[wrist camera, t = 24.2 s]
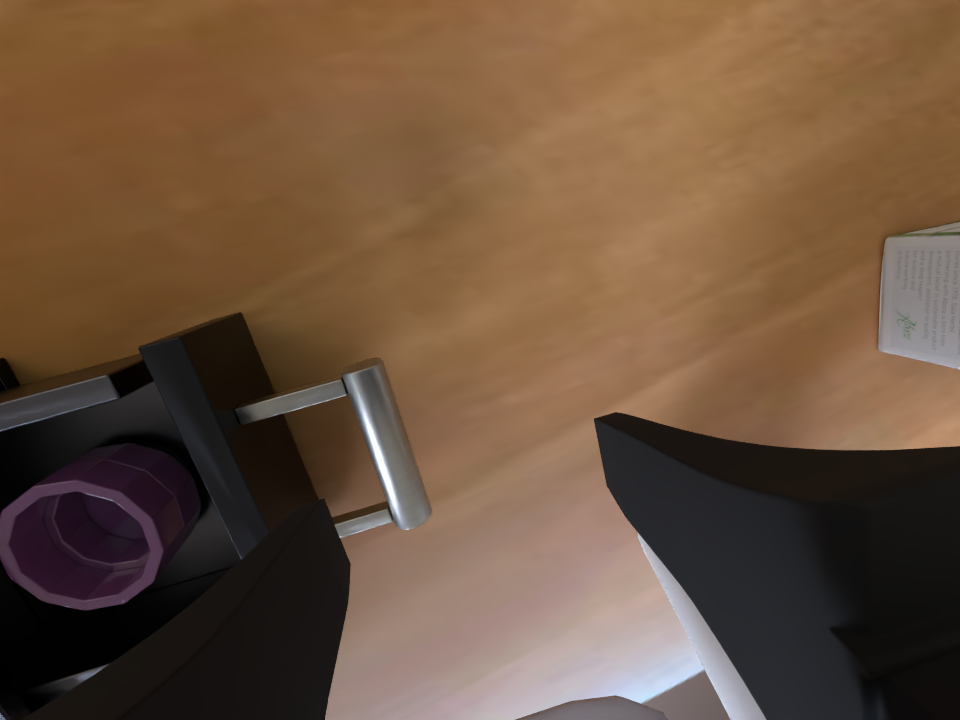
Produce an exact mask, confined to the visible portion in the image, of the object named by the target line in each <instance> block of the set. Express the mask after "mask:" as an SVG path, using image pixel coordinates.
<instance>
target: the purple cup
mask: <svg viewBox="0 0 960 720" xmlns="http://www.w3.org/2000/svg"><path fill="white" fill-rule="evenodd" d="M200 509H201V501H200V498H199V495H198V492H197V488H196V484H195V482H194V479H193V477H192V475H191V474H190V473H189V471H188V470H187V469H186V467H185V466H184V465H183V464H182V463H180V462H179V461H178V460H177V459H175V458H174V457H172V456H171V455H169V454H167V453H165V452H163V451H160V450H157V449H154V448H150V447H145V446H141V445H137V444H134V443H125V444H118V445H112V446H105V447H98V448H94V449H91V450H90V451H88V452H87V453H85V454H83V455H82V456H80V457H79V458H77V459H75V460H74V461H72V462H71V463H69V464H67V465H66V466H65V467H63V468H61V469H59V470H58V471H56V472H55V473H53V474H51V475H50V476H48V477H47V478H45V479H44V480H42V481H40V482H39V483H37V484H36V485H34V486H32V487H31V488H30V489H28V490H27V491H26V492H25V493H23V494H22V495H21V496H19V497H18V498H17V499H16V500H14V501H13V502H12V503H10V504H9V505H8V506H7V507H5V508H4V509H3V511H2V512H1V516H0V560H1V562H2V564H3V566H4V568H5V571H6V573H7V575H8V577H10V579H11V580H13V581H14V582H15V583H17V584H18V585H20V586H21V587H22V588H24V589H25V590H27V591H28V592H30V593H31V594H32V595H34V596H35V597H37V598H38V599H39V600H41V601H43V602H46V603H50V604H55V605H60V606H64V607H69V608H74V609H78V610H83V611H84V610H86V611H87V610H93V609H98V608H104V607H109V606H115V605H120V604H124V603H127V602H128V601H129V600H131V599H132V598H133V597H135V596H136V595H137V594H139V593H140V592H141V591H143V590H144V589H145V588H147V587H148V586H149V585H150V584H152V583H153V582H154V581H155V580H156V578H157V577H158V576H159V574H160V573H161V572H162V571H163V569H164V568H165V567H166V565H167V564H168V563H169V562H170V560H171V559H172V558H173V556H174V555H175V554H176V552H177V551H178V550H179V549H180V547H181V546H182V545H183V544H184V542H185V541H186V540H187V538H188V537H189V536H190V535H191V533H192V532H193V530H194V527H195V524H196V521H197V518H198V515H199V512H200Z"/></svg>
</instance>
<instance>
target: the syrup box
mask: <svg viewBox="0 0 960 720" xmlns="http://www.w3.org/2000/svg"><path fill="white" fill-rule="evenodd" d="M878 349H879V350H880V351H882V352H886V353H890V354H895V355H899V356H904V357H908V358H912V359H917V360H921V361H926V362H930V363H934V364H938V365H943V366H947V367H951V368H956V369H960V221H958V222H954V223H949V224H945V225H941V226H936V227H931V228H927V229H923V230H918V231H913V232H908V233H904V234H899V235H894V236H890V237H888V238H887V239H886V241H885V244H884V254H883V262H882V271H881V289H880V310H879V345H878Z"/></svg>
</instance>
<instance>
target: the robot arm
mask: <svg viewBox="0 0 960 720" xmlns="http://www.w3.org/2000/svg"><path fill="white" fill-rule="evenodd" d="M594 423H595V428H596V433H597V438H598V443H599V448H600V453H601V458H602V463H603V468H604V473H605V479H606V484H607V487H608V488H609V490H610V492H611V494H612V495H613V497H614V499H615V500H616V502H617V504H618V505H619V507H620V509H621V510H622V512H623V514H624V515H625V517H626V518H627V519H628V521H629V522H630V523H631V524H632V526H633V527H634V528H635V529H636V531H637V532H638V533H639V534H640V536H641V537H642V538H643V540H644V541H645V542H646V543H647V544H648V546H649V547H650V548H651V549H652V551H653V552H654V553H655V554H656V556H657V557H658V558H659V559H660V561H661V562H662V563H663V564H664V566H665V567H666V568H667V569H668V571H669V572H670V573H671V574H672V575H673V577H674V578H675V579H676V580H677V582H678V583H679V584H680V586H681V587H682V588H683V590H684V591H685V592H686V594H687V595H688V596H689V598H690V599H691V600H692V602H693V603H694V605H695V606H696V608H697V610H698V611H699V613H700V614H701V616H702V617H703V619H704V620H705V622H706V623H707V625H708V626H709V628H710V629H711V631H712V632H713V634H714V636H715V637H716V639H717V640H718V642H719V643H720V645H721V647H722V648H723V650H724V651H725V653H726V654H727V656H728V658H729V659H730V661H731V662H732V664H733V666H734V667H735V669H736V670H737V672H738V674H739V675H740V677H741V678H742V680H743V682H744V683H745V685H746V686H747V688H748V690H749V691H750V693H751V695H752V696H753V698H754V700H755V701H756V703H757V705H758V706H759V708H760V710H761V711H762V713H763V715H764V716H765V718H766V720H960V446H957V447H939V448H921V449H903V450H816V449H802V448H787V447H776V446H767V445H759V444H752V443H745V442H738V441H732V440H726V439H721V438H716V437H712V436H707V435H702V434H698V433H693V432H689V431H685V430H681V429H678V428H674V427H670V426H667V425H663V424H659V423H656V422H652V421H649V420H645V419H642V418H638V417H635V416H631V415H627V414H623V413H617V412H615V413H612V414H608V415H605V416H602V417H598V418H595V419H594ZM350 565H351V564H350V562H349V559H348V557H347V554H346V552H345V549H344V547H343V544H342V542H341V539H340V537H339V534H338V532H337V530H336V527H335V525H334V522H333V520H332V517H331V515H330V512H329V510H328V507H327V505H326V502H325V500H324V499H321V500H318V501H314V502H311V503H308V504H304V505H301V506H299V507H298V508H297V509H295V510H294V511H293V512H291V513H290V514H289V515H288V516H287V517H286V518H285V519H284V520H283V521H281V522H280V523H279V524H278V525H277V526H276V527H275V528H274V529H273V530H272V531H271V532H270V533H269V534H268V535H267V536H266V537H265V538H264V539H263V540H262V541H261V542H259V543H258V544H257V545H256V546H255V547H254V548H253V549H252V550H251V551H250V552H249V553H248V554H247V555H246V556H245V557H244V558H243V559H242V560H241V561H240V562H238V563H237V564H236V565H235V566H234V567H233V568H232V569H231V570H230V571H228V572H227V573H226V574H225V575H224V576H223V577H222V578H221V579H220V580H218V581H217V582H216V583H215V584H214V585H213V586H212V587H211V588H210V589H208V590H207V591H206V592H205V593H204V594H203V595H201V596H200V597H199V598H198V599H197V600H195V601H194V602H193V603H192V604H191V605H189V606H188V607H187V608H186V609H184V610H183V611H182V612H181V613H179V614H178V615H177V616H175V617H174V618H173V619H172V620H170V621H169V622H168V623H167V624H165V625H164V626H163V627H161V628H160V629H159V630H157V631H156V632H155V633H153V634H152V635H151V636H149V637H148V638H146V639H145V640H143V641H142V642H141V643H139V644H138V645H136V646H135V647H133V648H132V649H131V650H129V651H128V652H126V653H125V654H123V655H122V656H120V657H119V658H118V659H116V660H115V661H113V662H112V663H110V664H109V665H108V666H106V667H105V668H103V669H102V670H100V671H99V672H97V673H96V674H94V675H93V676H91V677H90V678H88V679H86V680H85V681H83V682H82V683H80V684H79V685H77V686H75V687H74V688H72V689H71V690H69V691H68V692H66V693H64V694H63V695H61V696H60V697H58V698H56V699H55V700H53V701H51V702H50V703H48V704H46V705H45V706H43V707H41V708H40V709H38V710H36V711H35V712H33V713H32V714H30V715H28V716H26V717H25V718H23V719H21V720H325V715H326V709H327V703H328V697H329V693H330V688H331V683H332V678H333V674H334V669H335V664H336V659H337V655H338V650H339V645H340V640H341V636H342V631H343V626H344V621H345V616H346V611H347V605H348V597H349V585H350ZM516 720H668V719H667V718H666V716H665V714H664V713H663V712H661V711H659V710H656V709H653V708H650V707H648V706H645V705H642V704H640V703H637V702H634V701H632V700H629V699H626V698H623V697H619V696H608V697H600V698H592V699H584V700H576V701H570V702H567V703H564V704H561V705H558V706H555V707H552V708H549V709H546V710H543V711H540V712H537V713H534V714H531V715H528V716H525V717H522V718H519V719H516Z"/></svg>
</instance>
